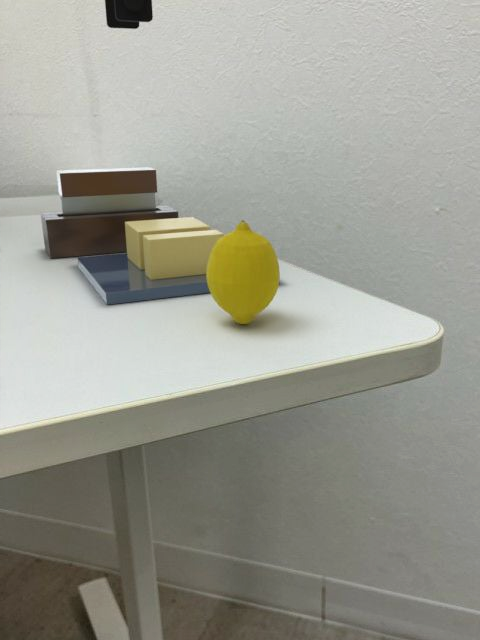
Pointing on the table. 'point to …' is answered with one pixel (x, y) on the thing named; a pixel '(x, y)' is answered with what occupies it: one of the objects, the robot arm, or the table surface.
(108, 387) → the table surface
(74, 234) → the scraper holder
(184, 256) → the butter slice
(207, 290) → the butter dish
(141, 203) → the scraper
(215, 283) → the fruit
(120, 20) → the robot arm
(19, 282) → the table surface
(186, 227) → the butter block
